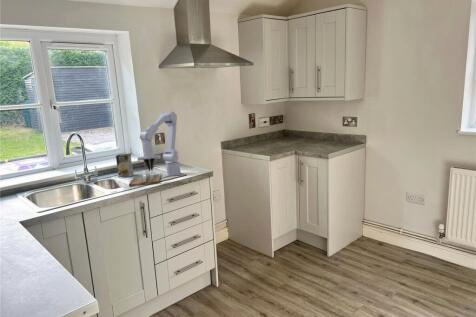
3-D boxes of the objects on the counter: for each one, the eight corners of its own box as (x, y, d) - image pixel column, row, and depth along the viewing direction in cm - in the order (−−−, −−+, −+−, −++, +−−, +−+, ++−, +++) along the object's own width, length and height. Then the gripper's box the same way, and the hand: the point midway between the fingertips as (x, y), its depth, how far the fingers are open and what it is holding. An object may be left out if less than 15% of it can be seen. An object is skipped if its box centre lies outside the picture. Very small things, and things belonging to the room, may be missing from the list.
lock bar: (144, 177, 240) (143, 174, 240) (148, 177, 241) (147, 174, 240) (142, 181, 230) (142, 178, 230) (146, 181, 230) (146, 177, 230)
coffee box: (118, 177, 256) (114, 155, 253) (121, 175, 263) (118, 154, 259) (130, 176, 255) (127, 155, 252) (133, 174, 262) (130, 153, 258)
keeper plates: (150, 175, 249) (150, 175, 249) (149, 179, 238) (148, 179, 238) (144, 176, 249) (144, 175, 248) (142, 180, 237) (142, 179, 237)
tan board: (161, 175, 252) (161, 173, 252) (158, 183, 231) (158, 181, 231) (133, 178, 250) (133, 176, 250) (129, 186, 229) (128, 184, 228)
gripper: (135, 152, 225) (138, 172, 228) (158, 149, 227) (161, 170, 230) (137, 150, 232) (140, 170, 235) (159, 147, 234) (162, 167, 237)
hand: (150, 170), depth 233 cm, fingers closed
